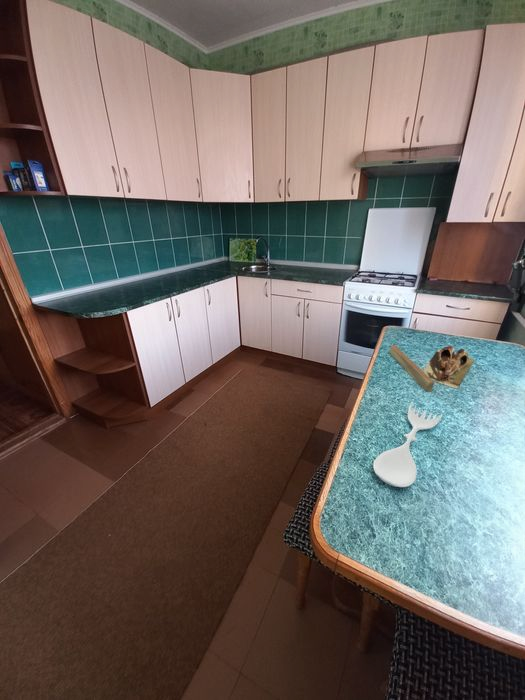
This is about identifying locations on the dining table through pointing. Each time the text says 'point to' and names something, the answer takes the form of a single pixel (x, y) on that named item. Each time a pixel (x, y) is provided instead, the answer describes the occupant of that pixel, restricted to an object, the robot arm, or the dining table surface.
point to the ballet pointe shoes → (448, 366)
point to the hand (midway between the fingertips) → (515, 311)
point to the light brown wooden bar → (412, 368)
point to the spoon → (403, 453)
